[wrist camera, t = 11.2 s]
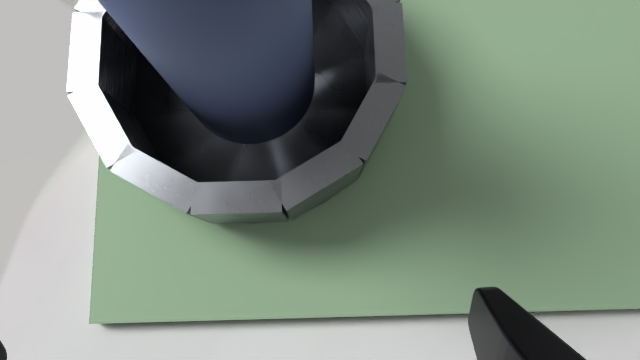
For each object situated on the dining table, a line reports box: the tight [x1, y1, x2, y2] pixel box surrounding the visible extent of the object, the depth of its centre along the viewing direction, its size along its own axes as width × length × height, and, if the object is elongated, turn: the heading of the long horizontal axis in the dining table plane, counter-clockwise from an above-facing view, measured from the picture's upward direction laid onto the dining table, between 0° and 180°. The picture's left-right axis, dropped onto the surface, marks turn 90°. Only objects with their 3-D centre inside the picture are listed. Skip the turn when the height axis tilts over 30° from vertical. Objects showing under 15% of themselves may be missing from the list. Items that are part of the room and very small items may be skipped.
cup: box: [67, 0, 407, 224], centre depth 17 cm, size 11×11×4 cm
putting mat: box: [89, 0, 640, 324], centre depth 19 cm, size 16×34×1 cm, turn 92°
